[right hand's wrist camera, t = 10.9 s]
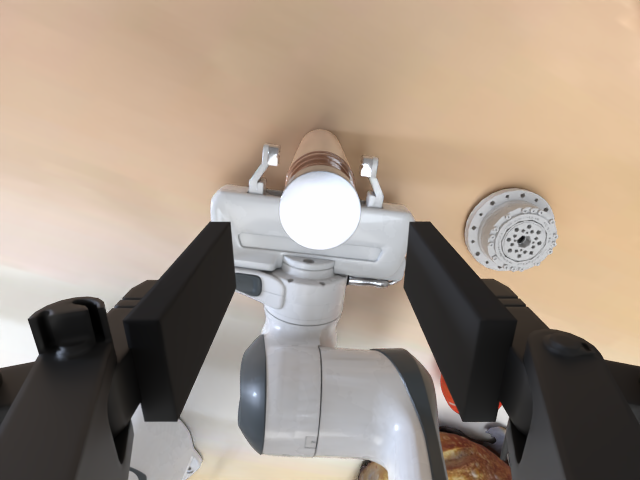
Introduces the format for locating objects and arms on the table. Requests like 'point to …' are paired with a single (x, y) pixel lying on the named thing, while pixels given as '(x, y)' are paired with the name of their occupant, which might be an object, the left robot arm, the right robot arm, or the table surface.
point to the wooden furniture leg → (319, 154)
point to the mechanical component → (511, 230)
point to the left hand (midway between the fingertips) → (321, 150)
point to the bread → (461, 458)
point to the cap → (320, 207)
